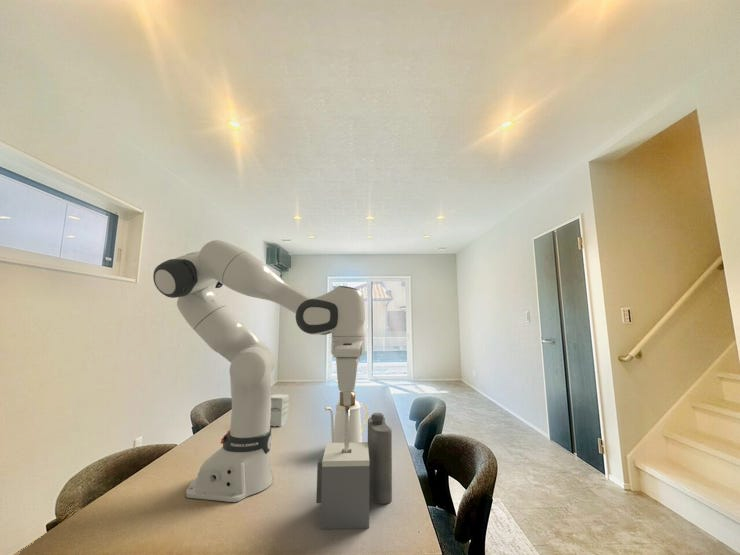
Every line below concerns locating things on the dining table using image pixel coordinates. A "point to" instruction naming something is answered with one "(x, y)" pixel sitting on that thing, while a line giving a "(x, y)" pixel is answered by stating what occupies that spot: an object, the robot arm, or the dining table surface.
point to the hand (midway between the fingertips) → (347, 402)
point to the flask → (380, 459)
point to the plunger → (347, 419)
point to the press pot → (344, 486)
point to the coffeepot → (354, 423)
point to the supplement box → (279, 409)
